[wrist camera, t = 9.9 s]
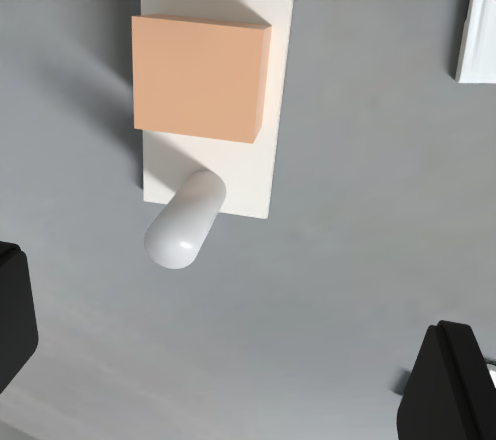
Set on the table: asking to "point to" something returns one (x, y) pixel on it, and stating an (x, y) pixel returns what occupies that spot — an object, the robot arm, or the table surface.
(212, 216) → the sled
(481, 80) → the external hard drive
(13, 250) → the robot arm
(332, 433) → the table surface
